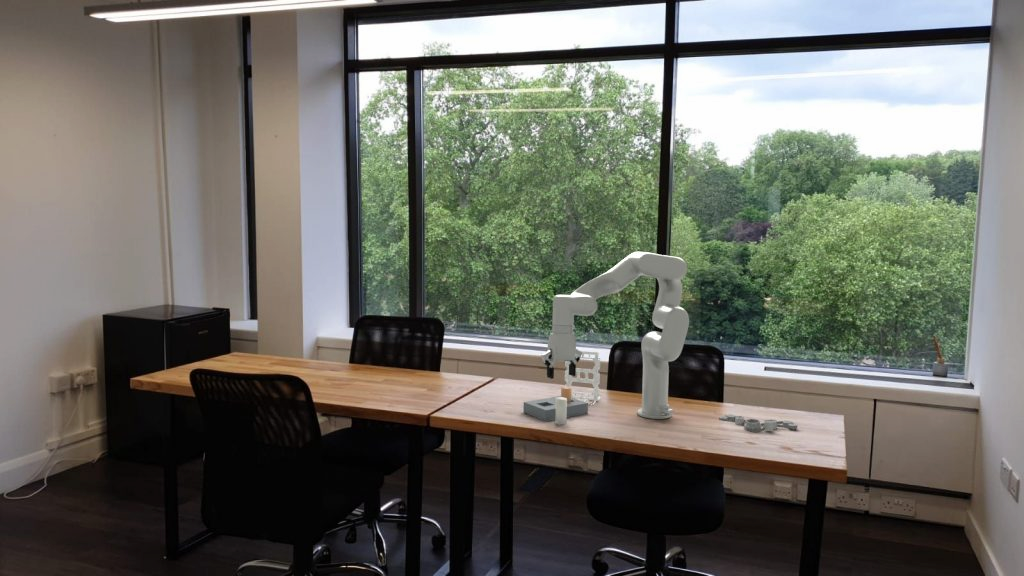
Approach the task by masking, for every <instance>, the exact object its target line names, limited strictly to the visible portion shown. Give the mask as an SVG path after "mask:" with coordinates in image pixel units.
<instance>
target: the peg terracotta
mask: <svg viewBox="0 0 1024 576" xmlns="http://www.w3.org/2000/svg"><path fill="white" fill-rule="evenodd" d="M572 389H573V388H572V386H571V387H565V386H561V387H560V396H561V397H564V398H567V403H568V402H571V400H572V396H573V395H572V392H573V390H572Z"/></svg>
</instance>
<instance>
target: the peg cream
mask: <svg viewBox="0 0 1024 576" xmlns="http://www.w3.org/2000/svg"><path fill="white" fill-rule="evenodd" d="M557 397H558V396H557ZM567 418H568V417H567V398H564V397H558V398H556V411H555V419H554V422H555V423H554V424H555V425H559V426H562V425H563V426H564V425H566V424H567Z"/></svg>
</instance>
